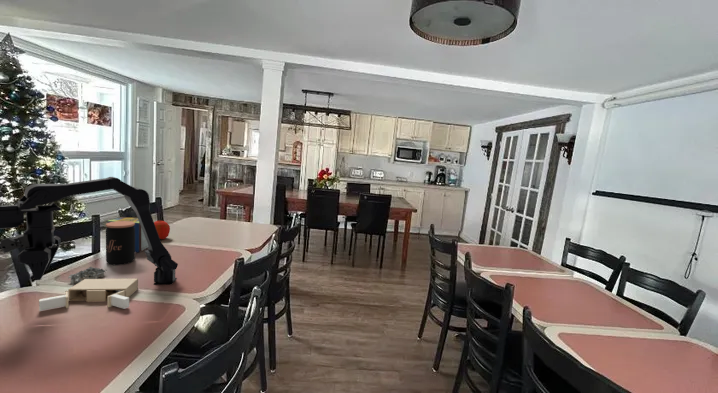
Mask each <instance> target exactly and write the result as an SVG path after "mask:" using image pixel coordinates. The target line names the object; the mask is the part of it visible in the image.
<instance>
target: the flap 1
mask: <svg viewBox="0 0 718 393" xmlns="http://www.w3.org/2000/svg"><path fill="white" fill-rule="evenodd" d="M38 300H39V301H38V303H39V304H38V306H39V312H42V311H47V310H52V309H57V308H64V307H65V309H69V308H70V306H69V297H68V290H65V294H63V295H57V296H51V297H44V298H39V299H38Z"/></svg>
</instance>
